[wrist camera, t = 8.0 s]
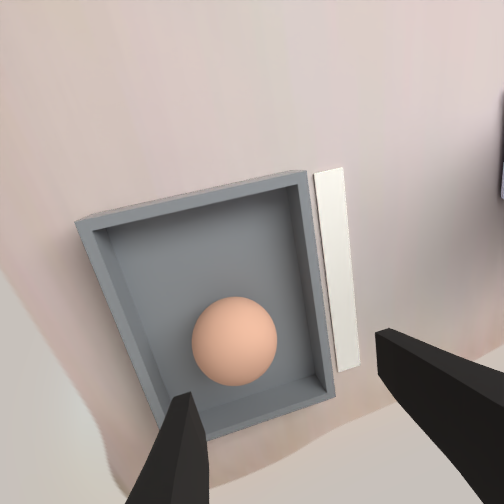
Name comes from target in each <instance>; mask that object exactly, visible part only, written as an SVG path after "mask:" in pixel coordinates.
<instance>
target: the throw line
mask: <svg viewBox="0 0 504 504" xmlns="http://www.w3.org/2000/svg"><path fill="white" fill-rule="evenodd" d="M314 181H315V189H316V197H317V206H318V214H319V222H320V230H321V238H322V246H323V255H324V263H325V271H326V279H327V287H328V296H329V304H330V312H331V320H332V328H333V336H334V345H335V353H336V361H337V369H338V372H341V371H344V370H347V369H350V368H353V367H356V366H359V365H360V353H359V342H358V331H357V320H356V308H355V297H354V286H353V275H352V263H351V252H350V241H349V230H348V219H347V207H346V196H345V185H344V174H343V167H341V168H336V169H332V170H327V171H323V172H318V173H314Z"/></svg>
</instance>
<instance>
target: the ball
mask: <svg viewBox="0 0 504 504" xmlns="http://www.w3.org/2000/svg"><path fill="white" fill-rule="evenodd" d="M276 349H277V333H276V328H275V325H274V323H273V320H272V318H271V317H270V315H269V314H268V312H267V311H266V310H265V309H264V308H263V307H262V306H261V305H259V304H258V303H256V302H255V301H253V300H250V299H247V298H244V297H227V298H223V299H220V300H218V301H216V302H214V303H212V304H211V305H210V306H208V307H207V308H206V309H205V310H204V311H203V312H202V314H201V315H200V316H199V318H198V319H197V321H196V324H195V326H194V329H193V333H192V351H193V355H194V358H195V361H196V363H197V365H198V366H199V368H200V369H201V371H202V372H203V373H204V374H205V375H206V376H207V377H208V378H210V379H211V380H213V381H215V382H217V383H219V384H222V385H226V386H241V385H245V384H248V383H251V382H253V381H254V380H256V379H258V378H259V377H260V376H262V375H263V374H264V373H265V372H266V370H267V369H268V368H269V366H270V365H271V363H272V361H273V359H274V356H275V353H276Z"/></svg>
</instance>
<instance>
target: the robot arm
mask: <svg viewBox="0 0 504 504" xmlns="http://www.w3.org/2000/svg"><path fill="white" fill-rule="evenodd" d="M501 197H502V199H504V164H503V176H502V187H501ZM375 340H376V354H377V368H378V375H379V377H380V378H381V380H382V381H383V383H384V384H385V385H386V387H387V388H388V390H389V391H390V392H391V394H392V395H393V397H394V398H395V399H396V400H397V402H398V403H399V404H400V405H401V406H402V407H403V409H404V410H405V411H406V412H407V413H408V414H409V415H410V416H411V418H412V419H413V420H414V421H415V422H416V423H417V424H418V425H419V427H420V428H421V429H422V430H423V431H424V432H425V433H426V434H427V435H428V436H429V438H430V439H431V440H432V441H433V442H434V443H435V444H436V445H437V447H438V448H439V449H440V450H441V451H442V452H443V453H444V454H445V455H446V457H447V458H448V459H449V460H450V461H451V463H452V464H453V465H454V466H455V467H456V469H457V470H458V471H459V472H460V473H461V475H462V476H463V477H464V479H465V480H466V481H467V483H468V484H469V485H470V487H471V488H472V489H473V490H474V492H475V493H476V494H477V496H478V497H479V498H480V500H481V501H482V502H483V503H484V504H504V373H503V372H500V371H497V370H494V369H492V368H489V367H486V366H483V365H480V364H478V363H475V362H472V361H469V360H467V359H464V358H462V357H459V356H456V355H454V354H451V353H449V352H446V351H444V350H441V349H439V348H437V347H434V346H432V345H429V344H427V343H425V342H422V341H420V340H417V339H415V338H413V337H410V336H408V335H406V334H403V333H401V332H398V331H396V330H393V329H390V328H388V329H385V330H382V331H378V332H375ZM125 504H209V461H208V451H207V442H206V433H205V430H204V427H203V424H202V422H201V419H200V416H199V413H198V410H197V407H196V404H195V402H194V399H193V396H192V393H191V391H190V392H187V393H184V394H181V395H178V396H175V397H173V399H172V400H171V403H170V406H169V408H168V411H167V414H166V416H165V419H164V421H163V424H162V426H161V428H160V431H159V433H158V436H157V438H156V440H155V442H154V445H153V447H152V449H151V451H150V454H149V456H148V458H147V460H146V463H145V465H144V467H143V469H142V471H141V473H140V475H139V477H138V479H137V481H136V483H135V485H134V487H133V489H132V491H131V493H130V495H129V497H128V499H127V501H126V503H125Z"/></svg>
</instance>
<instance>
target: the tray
mask: <svg viewBox="0 0 504 504" xmlns="http://www.w3.org/2000/svg"><path fill="white" fill-rule="evenodd" d="M74 223H75V225H76V228H77V230H78V233H79V235H80V237H81V240H82V242H83V245H84V247H85V250H86V252H87V254H88V257H89V259H90V262H91V264H92V267H93V269H94V272H95V274H96V276H97V279H98V281H99V284H100V286H101V289H102V291H103V293H104V296H105V298H106V301H107V303H108V306H109V308H110V311H111V313H112V315H113V318H114V320H115V323H116V325H117V328H118V330H119V332H120V335H121V337H122V340H123V342H124V345H125V347H126V349H127V352H128V354H129V357H130V359H131V362H132V364H133V367H134V369H135V371H136V374H137V376H138V379H139V381H140V384H141V386H142V388H143V391H144V393H145V396H146V398H147V401H148V403H149V405H150V408H151V410H152V413H153V415H154V418H155V420H156V423H157V425H158V427H159V430H160V428H161V426H162V424H163V421H164V419H165V416H166V414H167V411H168V408H169V406H170V403H171V400H172V399H173V397H175V396H178V395H181V394H184V393H187V392H190V391H191V393H192V396H193V399H194V402H195V404H196V407H197V410H198V413H199V416H200V419H201V422H202V424H203V427H204V430H205V433H206V442H207V441H210V440H213V439H215V438H218V437H221V436H224V435H227V434H230V433H233V432H236V431H239V430H242V429H244V428H247V427H250V426H253V425H256V424H259V423H262V422H265V421H268V420H270V419H273V418H276V417H279V416H282V415H285V414H288V413H291V412H294V411H297V410H299V409H302V408H305V407H308V406H311V405H314V404H317V403H320V402H323V401H326V400H328V399H331V398H334V397H336V394H335V387H334V379H333V371H332V364H331V356H330V348H329V340H328V333H327V325H326V317H325V310H324V302H323V294H322V287H321V279H320V271H319V263H318V256H317V248H316V240H315V233H314V225H313V217H312V209H311V202H310V194H309V186H308V179H307V171H306V170H290V171H286V172H281V173H277V174H272V175H267V176H263V177H258V178H254V179H249V180H245V181H240V182H236V183H231V184H227V185H222V186H217V187H213V188H208V189H204V190H199V191H195V192H190V193H186V194H181V195H176V196H172V197H167V198H163V199H158V200H154V201H149V202H145V203H140V204H135V205H131V206H126V207H122V208H117V209H113V210H108V211H104V212H99V213H95V214H91V215H89V216H87V217H84V218H82V219H80V220H77V221H75V222H74ZM227 297H244V298H247V299H250V300H253V301H255V302H256V303H258V304H259V305H261V306H262V307H263V308H264V309H265V310H266V311H267V312H268V314H269V315H270V317H271V318H272V320H273V323H274V325H275V328H276V333H277V349H276V353H275V356H274V359H273V361H272V363H271V365H270V366H269V368H268V369H267V370H266V372H265V373H264V374H263V375H262V376H260V377H259V378H258V379H256V380H254V381H253V382H251V383H248V384H245V385H241V386H226V385H222V384H219V383H217V382H215V381H213V380H211V379H210V378H208V377H207V376H206V375H205V374H204V373H203V372H202V371H201V369H200V368H199V366H198V365H197V363H196V361H195V358H194V355H193V351H192V333H193V329H194V326H195V324H196V321H197V319H198V318H199V316H200V315H201V314H202V312H203V311H204V310H205V309H206V308H207V307H208V306H210V305H211V304H212V303H214V302H216V301H218V300H220V299H223V298H227Z"/></svg>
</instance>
